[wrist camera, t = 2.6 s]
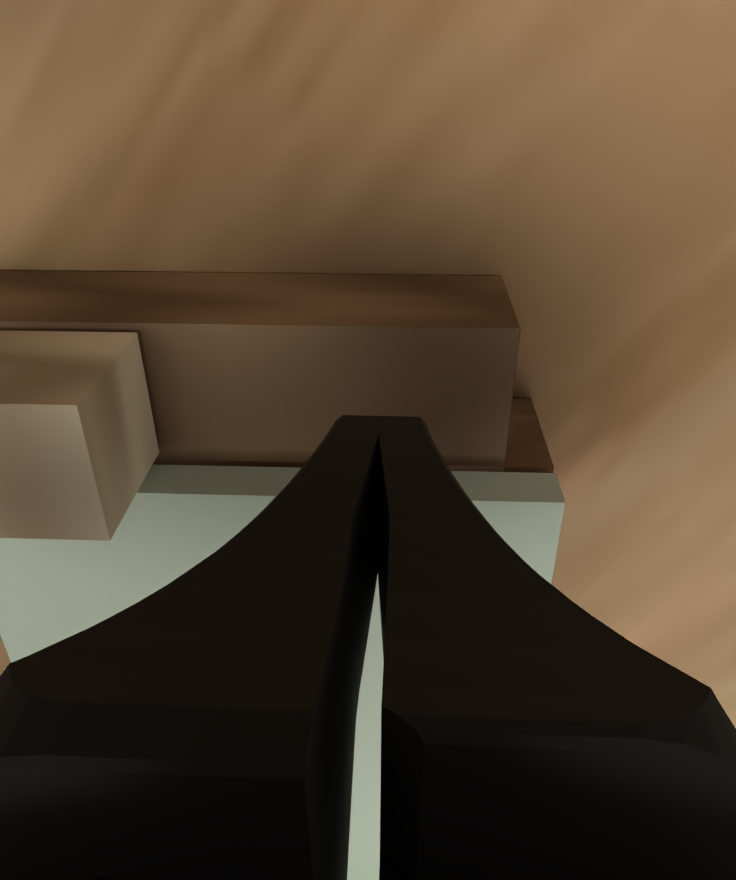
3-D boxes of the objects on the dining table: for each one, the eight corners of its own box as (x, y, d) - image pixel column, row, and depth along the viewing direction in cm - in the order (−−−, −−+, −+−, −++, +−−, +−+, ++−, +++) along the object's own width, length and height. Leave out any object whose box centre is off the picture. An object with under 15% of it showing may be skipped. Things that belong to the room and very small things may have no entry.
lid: (127, 905, 24) (94, 1012, 21) (-29, 460, 15) (-122, 555, 12) (482, 921, 23) (492, 1033, 21) (555, 473, 14) (588, 575, 12)
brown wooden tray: (0, 807, 27) (-42, 891, 24) (-253, 267, 16) (-378, 316, 13) (474, 826, 26) (482, 915, 24) (547, 276, 15) (576, 328, 13)
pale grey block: (-34, 448, 14) (-121, 534, 12) (-76, 329, 13) (-183, 399, 11) (158, 452, 14) (109, 540, 12) (137, 332, 13) (76, 405, 11)
